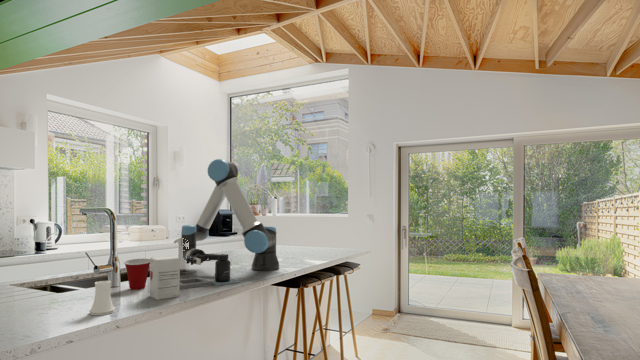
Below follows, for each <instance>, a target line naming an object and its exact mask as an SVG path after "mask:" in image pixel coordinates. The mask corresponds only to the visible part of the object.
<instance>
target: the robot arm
mask: <svg viewBox="0 0 640 360" xmlns="http://www.w3.org/2000/svg"><path fill="white" fill-rule="evenodd" d="M207 175H208V177H209V179H210V180H212V181H214V183H215V187H214V189H213V191H212V193H211V195H210V197H209V199H208V200H207V203H206V204H205V207H204V208H203V210H202V212H201V214H200V217H199V219H198V221H197V222H196V224H184V225H182V226H181V233H180V234H181V239H182V238H184V239H183V243H184V244H185V242H186V241H187V240H188V241H187V242H186V243H188V242H189V249H188V247H187V249H186V247H185V246H184V245H183V246H184V247H183V250H185V251H183V258H184V260H186V261H187V262H186V264H190V266H191V265H197V266H201V264H203V263H204V262H209V261H217V260H218V255H219V253H218V254H217V253H205V251H204V250H202V249H199V248H197V242H200V241H205V240H206V239H207V238H208V237H209V230H210V228H211V226H212V224H213V222H214V220H215V218H216V216H217V215H218V212H219V211H220V208H221V206H222V205H223V202H224V200H225V198H226V199H227V201H228V204H229V205H230V208H231V209H232V211H233V213H234V214H235V217H236V219H237V220H238V222H239V224H240V226H241V228H242V231H241V235H242V237H243V238H244V240H243V241H244V242H243V243H244V247H245V248H246V249H247V251H249V252H250V253H252V254H254V257H253V260H252V264H251V270H252V271H262V272H263V271H276V270H279V269H280V263H279V260H278V256H277V229H276V227H275V226H266V225H265V226H264V224H263V222H260V221H258V219H257V217H256V215H255V213H254V212H253V210H252V208H251V206H250V204H249V203H248V201H247V198H246V197H245V195H244V193H243V191H242V189H241V188H240V186H239V184H238V181H239V177H238V176H239V169H238V167H237V165H236V164H235V163H233V162H232V161H229V160H225V159H223V158H217V159H213V160H212V161H211V162H210V163H209V164H208V167H207ZM185 239H186V240H185Z"/></svg>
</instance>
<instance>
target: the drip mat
mask: <svg viewBox="0 0 640 360" xmlns="http://www.w3.org/2000/svg"><path fill="white" fill-rule="evenodd" d="M208 280H209V279H208ZM209 281H212V286H215V287H218V286H225V285H233V284H239V283H240V281H239V280H235V279H233V278H230V281H228V282H216V281H215V279H211V280H209Z"/></svg>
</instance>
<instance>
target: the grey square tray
mask: <svg viewBox="0 0 640 360" xmlns="http://www.w3.org/2000/svg"><path fill="white" fill-rule="evenodd" d="M207 286H213V284H212V281H209V279H207V278H203V277H200V276H198V277H189V278H183V279H180V280H179V290H186V289H192V288H199V287H207Z"/></svg>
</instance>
